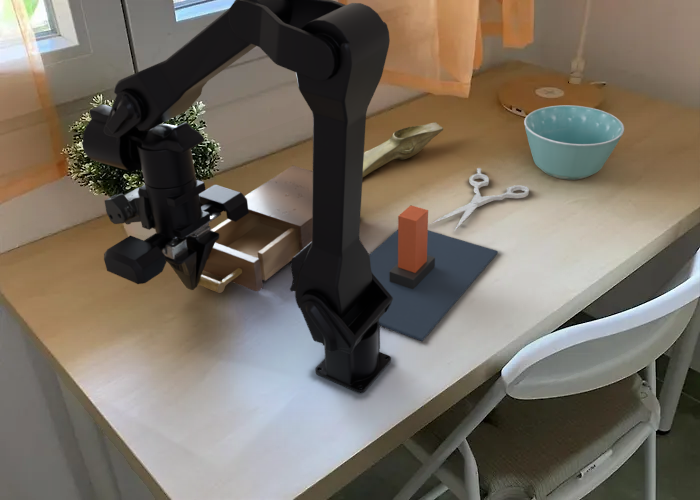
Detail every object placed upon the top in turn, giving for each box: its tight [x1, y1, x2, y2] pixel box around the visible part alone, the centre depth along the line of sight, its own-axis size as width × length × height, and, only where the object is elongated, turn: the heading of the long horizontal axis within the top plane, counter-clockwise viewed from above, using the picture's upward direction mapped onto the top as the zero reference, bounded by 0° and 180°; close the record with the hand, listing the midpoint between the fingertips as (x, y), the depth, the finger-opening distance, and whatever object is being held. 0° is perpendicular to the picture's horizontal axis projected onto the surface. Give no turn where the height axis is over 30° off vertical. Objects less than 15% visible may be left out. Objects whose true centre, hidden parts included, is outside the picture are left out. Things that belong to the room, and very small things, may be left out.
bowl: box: [523, 104, 625, 181], centre depth 117 cm, size 16×16×8 cm
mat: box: [369, 229, 499, 342], centre depth 94 cm, size 22×15×1 cm
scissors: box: [430, 167, 530, 232], centre depth 110 cm, size 11×1×20 cm
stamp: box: [389, 204, 435, 289], centre depth 92 cm, size 6×4×10 cm, turn 146°
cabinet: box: [244, 165, 313, 251], centre depth 104 cm, size 14×12×6 cm
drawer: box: [198, 213, 300, 294], centre depth 96 cm, size 18×11×5 cm, turn 147°
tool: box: [363, 121, 444, 178], centre depth 122 cm, size 22×6×5 cm, turn 119°
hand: (191, 287), depth 89 cm, fingers closed
